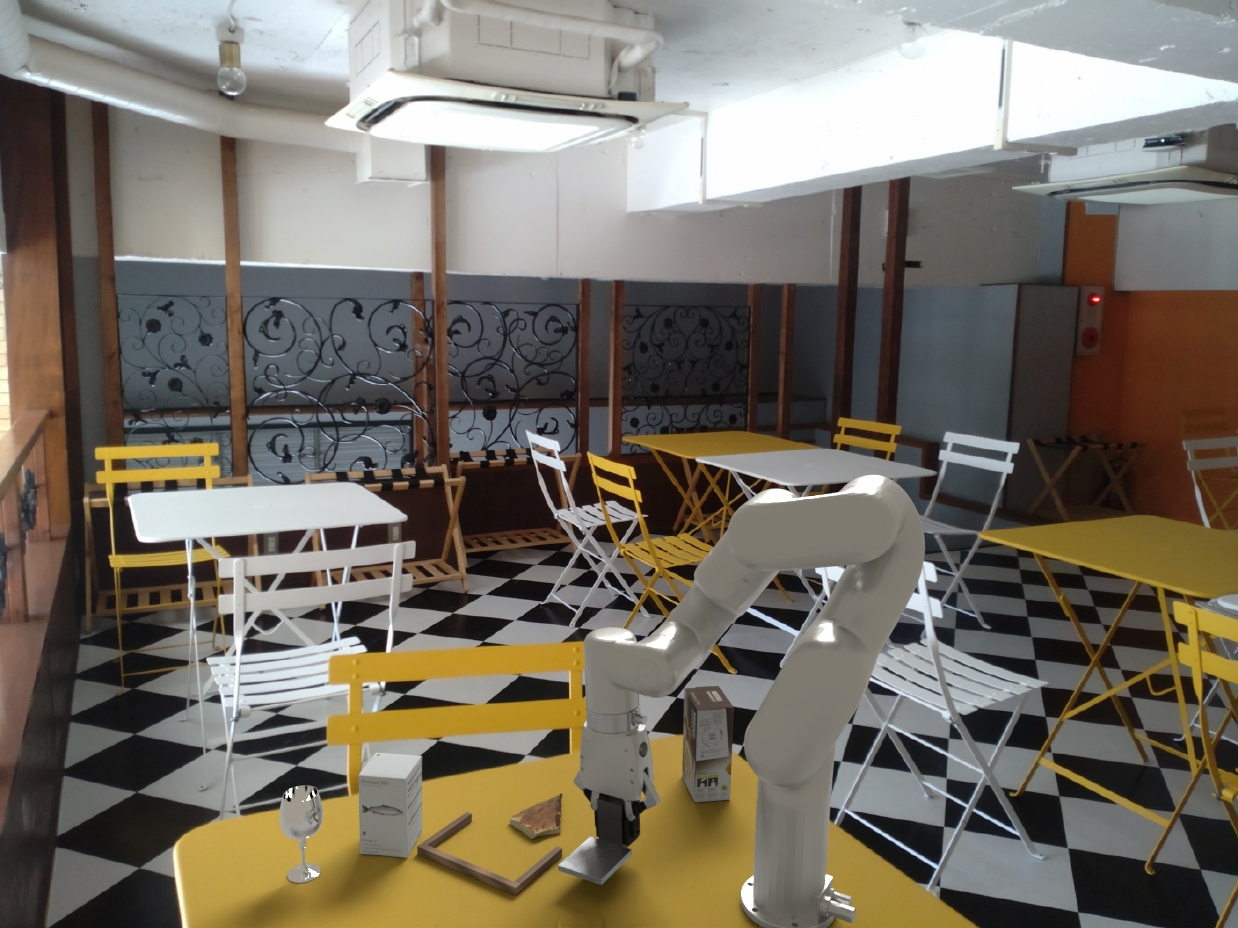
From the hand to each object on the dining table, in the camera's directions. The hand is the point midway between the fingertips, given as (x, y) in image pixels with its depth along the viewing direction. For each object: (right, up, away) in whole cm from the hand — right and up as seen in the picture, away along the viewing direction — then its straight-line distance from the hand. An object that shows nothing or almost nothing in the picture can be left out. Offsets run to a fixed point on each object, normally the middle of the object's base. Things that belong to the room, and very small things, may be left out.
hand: (617, 835), depth 132 cm
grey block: (-2, -1, -3) cm, 4 cm away
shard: (-13, -3, +12) cm, 17 cm away
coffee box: (+15, -1, +22) cm, 26 cm away
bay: (-19, -3, +2) cm, 19 cm away
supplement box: (-33, -3, +4) cm, 34 cm away
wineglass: (-44, -4, -3) cm, 44 cm away
